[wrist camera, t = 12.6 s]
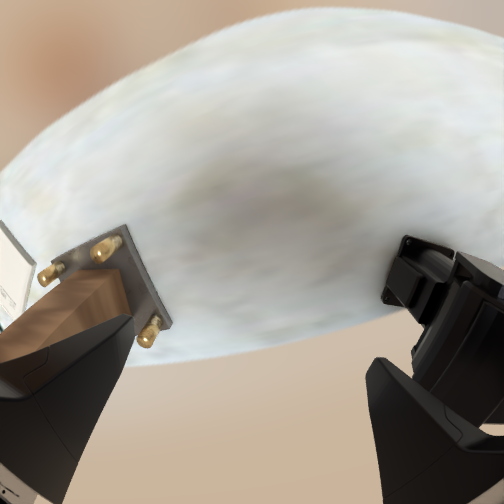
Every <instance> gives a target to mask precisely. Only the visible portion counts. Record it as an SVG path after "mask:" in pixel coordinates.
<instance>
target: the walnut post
mask: <svg viewBox="0 0 504 504" xmlns="http://www.w3.org/2000/svg"><path fill="white" fill-rule="evenodd" d="M121 314H127V315H131V311H130V308H129V305H128V301H127V298H126V294H125V290H124V287H123V283H122V279H121V275H120V271H119V269H95V270H77V271H76V272H74V273H73V274H72V275H70V276H69V277H68V278H66V279H65V280H64V281H62V282H61V283H60V284H58V285H57V286H56V287H55V288H53V289H52V290H51V291H50V292H48V293H47V294H46V295H45V296H43V297H42V298H41V299H40V300H38V301H37V302H36V303H35V304H34V305H32V306H31V307H30V308H29V309H28V310H26V311H25V312H24V313H23V314H22V315H21V316H20V317H18V318H17V319H16V320H15V321H14V322H13V323H12V324H11V325H9V326H8V327H7V328H6V329H5V330H4V331H3V332H2V333H1V334H0V363H2V362H5V361H8V360H11V359H15V358H18V357H21V356H24V355H27V354H30V353H32V352H35V351H37V350H40V349H42V348H44V347H47V346H50V345H51V344H54V343H56V342H58V341H61V340H63V339H65V338H68V337H70V336H72V335H75V334H77V333H79V332H81V331H84V330H86V329H88V328H91V327H93V326H95V325H98V324H100V323H102V322H104V321H107V320H109V319H111V318H114V317H116V316H118V315H121ZM131 316H132V315H131Z"/></svg>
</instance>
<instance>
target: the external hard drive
mask: <svg viewBox="0 0 504 504" xmlns="http://www.w3.org/2000/svg"><path fill="white" fill-rule="evenodd" d="M36 264H37V263H36V262H35V261H34V260H33V259H32V258H31V257H30V255H29V254H28V253H27V252H26V251H25V250H24V248H23V247H22V246H21V245H20V244H19V242H18V241H17V240H16V239H15V237H14V236H13V235H12V233H11V232H10V231H9V230H8V228H7V227H6V226H5V224H4V223H3V222H2V220H1V221H0V304H1V306H2V307H3V308H4V309H5V311H6V312H7V313H8V314H9V315H10V317H11V318H12V319H13V320H14V321H15V320H16V319H17V318H18V317H20V316H21V315H22V314H23V313H24V312H25V308H26V304H27V299H28V295H29V290H30V286H31V282H32V278H33V275H34V271H35V268H36Z"/></svg>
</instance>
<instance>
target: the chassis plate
mask: <svg viewBox="0 0 504 504" xmlns="http://www.w3.org/2000/svg"><path fill="white" fill-rule="evenodd" d="M51 263H52V265H50V266H49V267H47V268H46V269H44V270H43V271H41V272H40V273H39V274H38V276H37V278H38V281H39V283H40V284H41V286H43V287H46V286H47V285H49V284H50V283H51V282H53V281H54V280H55V279H57V278H59V280H60V282H62V281H64V280H65V279H66V278H68V277H69V276H70V275H72V274H73V273H74V272H76V271H77V270H95V269H119V271H120V275H121V279H122V283H123V287H124V290H125V294H126V298H127V301H128V305H129V308H130V311H131V315H132V316H133V317H134V322H135V336H137V335H138V337H137V342H138V344H139V345H140V346H141V347H143V348H150V347H151V346H152V344H153V342H154V340H155V339H156V337H157V335H158V333H159V331H162V330H167V329H170V327H171V325H172V321H171V319H170V317H169V316H168V314H167V312H166V310H165V308H164V306H163V304H162V302H161V300H160V298H159V296H158V294H157V292H156V290H155V288H154V286H153V284H152V282H151V280H150V278H149V276H148V274H147V272H146V270H145V268H144V266H143V264H142V261H141V259H140V257H139V255H138V253H137V250H136V248H135V246H134V244H133V241H132V239H131V237H130V234H129V232H128V229H127V227H126V225H123V226H120V227H118V228H116V229H114V230H112V231H109V232H107V233H105V234H103V235H101V236H99V237H97V238H95V239H92V240H90V241H88V242H86V243H84V244H82V245H80V246H78V247H76V248H74V249H72V250H70V251H68V252H66V253H64V254H62V255H60V256H59V257H57V258H55V259H53V260H52V261H51Z"/></svg>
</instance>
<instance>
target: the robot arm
mask: <svg viewBox="0 0 504 504" xmlns="http://www.w3.org/2000/svg"><path fill="white" fill-rule="evenodd" d="M408 240H409V243H407V241H408ZM449 254H450V255H449ZM453 257H454V250H452V249H450V248H447V247H444V246H441V245H438V244H435V243H432V242H429V241H426V240H423V239H419V238H416V237H413V236H409V235H406V236H405V237H404V238H403V240H402V243H401V246H400V249H399V252H398V255H397V257H396V258H395V261H394V264H393V266H392V269H391V272H390V274H389V277H388V280H387V282H386V287H385V289H384V292H383V294H382V296H381V300H382V302H383V303H384V304H387V305H394V306H401V307H405V308H407V309H408V311H409V312H410V313H411V314H412V316H413V317H414V318H415V319H416V321H417V322H418V323H419V324H421V325H422V326H423V328H424V331H423V333H422V335H421V336H420V339H419V340H418V342H417V344H416V345H415V346H414V347H413V349H412V350H411V355H412V368H413V372H414V374H413V376H412V378H410V377H409V376H408V375H406V374H405V373H404V372H403V371H401V370H400V369H399V368H398V367H396V366H395V365H394V364H393V363H391V362H390V361H388V359H386V358H382V357H377V358H375V359H374V361H373V362H372V364H371V366H370V367H369V369H368V371H367V373H366V387H367V397H368V407H369V413H370V419H371V424H372V429H373V434H374V440H375V446H376V452H377V458H378V464H379V471H380V479H381V487H382V496H383V504H504V436H493V435H489V434H486V433H485V432H483V431H482V430H480V429H479V427H480V426H481V425H482V424H500V425H502V424H504V270H502V269H500V268H499V267H497V266H495V265H494V264H492V263H490V262H487V261H485V260H482V259H479V258H476V257H474V256H471V255H468V254H465V253H462V252H459V251H457V253H456V256H455V259H456V260H455V262H454V261H452V260H453ZM387 297H388V299H386V298H387ZM385 299H386V300H385ZM134 339H135V322H134V317H133V316H131V315H127V314H121V315H118V316H116V317H114V318H111V319H109V320H107V321H104V322H102V323H100V324H98V325H95V326H93V327H91V328H88V329H86V330H84V331H81V332H79V333H77V334H75V335H72V336H70V337H68V338H65V339H63V340H61V341H58V342H56V343H54V344H51V345H50V346H47V347H44V348H42V349H40V350H37V351H35V352H32V353H30V354H27V355H24V356H21V357H18V358H15V359H11V360H8V361H5V362H2V363H0V504H33V503H34V501H35V499H36V497H37V494H38V495H40V496H41V497H43V498H45V499H46V500H48V501H49V502H51V503H53V504H62V502H63V500H64V497H65V494H66V492H67V489H68V487H69V484H70V482H71V479H72V477H73V475H74V472H75V470H76V467H77V465H78V462H79V460H80V458H81V455H82V453H83V451H84V449H85V447H86V444H87V442H88V440H89V438H90V436H91V433H92V431H93V429H94V427H95V425H96V423H97V421H98V418H99V416H100V414H101V412H102V410H103V408H104V406H105V404H106V402H107V400H108V398H109V396H110V394H111V392H112V390H113V389H114V387H115V385H116V382H117V381H118V379H119V377H120V375H121V373H122V370H123V368H124V365H125V362H126V360H127V357H128V355H129V352H130V349H131V347H132V344H133V342H134Z"/></svg>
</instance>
